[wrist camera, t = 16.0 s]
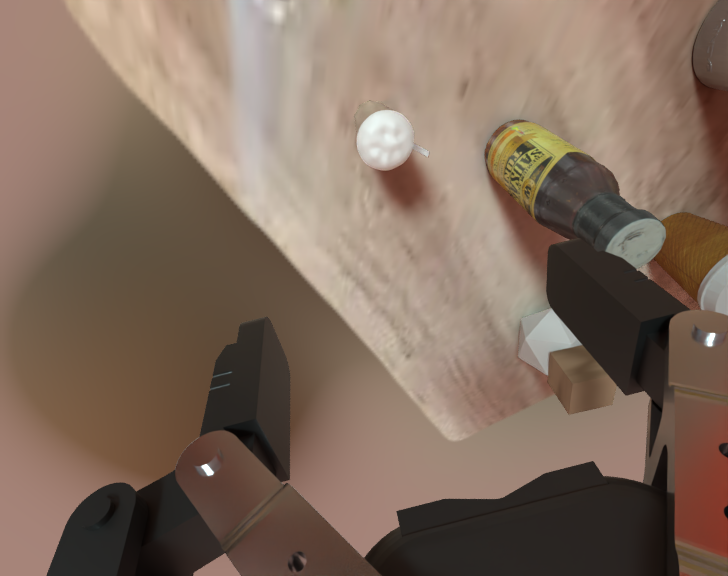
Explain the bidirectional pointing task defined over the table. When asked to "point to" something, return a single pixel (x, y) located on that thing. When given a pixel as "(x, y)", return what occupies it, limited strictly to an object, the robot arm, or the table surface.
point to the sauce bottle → (570, 192)
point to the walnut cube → (579, 380)
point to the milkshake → (384, 136)
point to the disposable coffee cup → (697, 259)
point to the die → (543, 338)
